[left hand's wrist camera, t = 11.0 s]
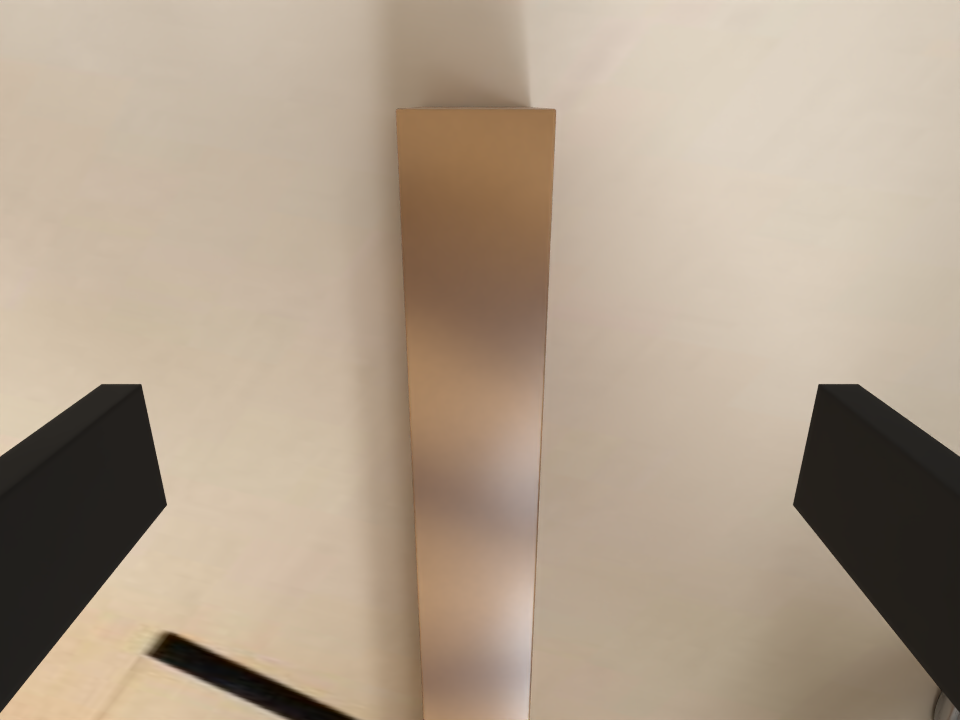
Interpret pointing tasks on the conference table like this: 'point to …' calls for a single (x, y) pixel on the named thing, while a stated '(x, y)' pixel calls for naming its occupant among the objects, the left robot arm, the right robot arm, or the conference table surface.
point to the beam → (476, 392)
